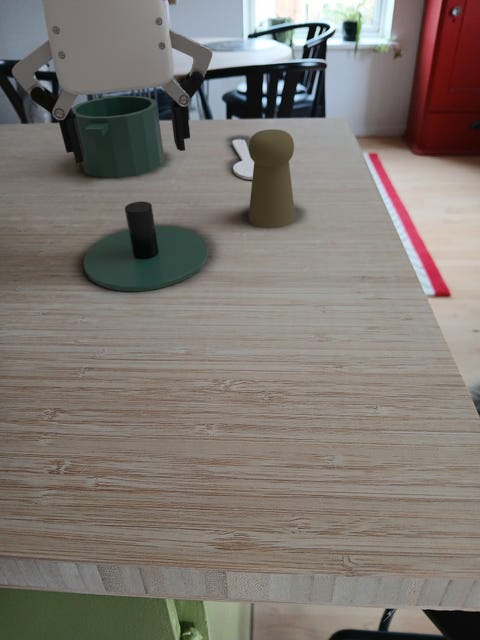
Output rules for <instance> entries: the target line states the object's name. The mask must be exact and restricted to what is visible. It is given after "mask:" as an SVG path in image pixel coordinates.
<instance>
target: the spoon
mask: <svg viewBox="0 0 480 640" xmlns="http://www.w3.org/2000/svg"><path fill="white" fill-rule="evenodd" d="M231 145H232V147H233V149H234V151H235V152H236V154H237V155H238V157H239V159H240V161H238V162H236V163H235V164H234V165H233V167H232V171H233V173H234V175H236V176H237V177H239V178H240V179H244V180H249V181H252V179H253V169H254V161H253V160H252V159H251V157H250V154H249V146H248V144H247V141H246V140H244V139H234V140H232V141H231Z"/></svg>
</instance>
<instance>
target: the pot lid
mask: <svg viewBox="0 0 480 640" xmlns="http://www.w3.org/2000/svg"><path fill="white" fill-rule="evenodd" d="M124 213H125V218H126V224H127V229H126V230H125V229H124V230H122V231H119V232H115V233H113V234H111V235H109V236H106V237H104V238H103V239H101V240H99V241H98V242H96V243H95V244H94V245H93V246H92V247H90V248H89V250H88V251H87V252H86V254H85V256H84V259H83V268H84V272H85V274H86V276H87V278H89V280H91V281H92V282H93V283H95V284H96V285H98V286H100V287H103V288H106V289H109V290H113V291H118V292H119V291H121V292H145V291H146V292H147V291H153V290H158V289H163V288H168V287H170V286H173V285H176V284H179V283H181V282H183V281H185V280H187V279H189V278H191V277H192V276H194V275H195V274H196V273H198V272H199V271H200V270H202V268H203V267H204V265H205V264H206V262H207V260H208V256H209V250H208V245H207V243H206V241H205V239H204V238H203V237H202V236H200V235H199V234H198V233H196V232H194V231H192V230H190V229H186V228H182V227H178V226H170V225H156V224H155V218H154V212H153V205H152V204H151V202H148V201H134V202H130V203H129V204H127V205H126V206H124Z"/></svg>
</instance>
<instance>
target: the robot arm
mask: <svg viewBox="0 0 480 640" xmlns="http://www.w3.org/2000/svg"><path fill="white" fill-rule="evenodd" d="M41 1H42V7H43V14H44V20H45V27H46V32H47V38H48V39H47V40H46V41H45V42H43V43H42V44H41V45H39V46H38V47H37V48H35V49H34V50H33V51H32V52H31V53H29V54H27V55H26V56H25V57H23V58H22V59H21V60H20V61H19V62H17V63H16V64H15V65H14V66H13V67H12V69H11V74H12V76H13V77H14V79H15V80H16V81H17V82H18V83H19V85H20V86H21V87H22V89H23V90H24V91H25V92H27V94H28V95H29V96H30V99H31V101H33V102H34V103H35V104H37V105H38V106H40V107H41V108H43V109H44V110H46V111H47V112H48V113H50V114H51V115H52V116H53V118H54V119H55V120H57V121H58V123H59V128H60V133H61V137H62V141H63V144H64V147H65V151H66V153H68V154H69V153H73V157H74V161H75V165H76V164H82V161H84V154H85V153H84V148H83V143H82V139H81V135H80V130H79V126H78V122H77V117H76V114H75V113H73V111H72V109H71V108H73V105H74V103H75V101H76V100H77V97H78V96H87V95H97V94H107V93H108V94H109V93H118V92H129V91H138V90H145V89H146V90H147V89H154V88H160V87H161V89H162V90H164V91H165V92H166V94H168V95H169V97H170V98H171V101H170V102H169V111H170V118H171V125H172V133H173V141H174V145H175V147H176V148H177V151H179V152H184V151H186V146H185V145H186V144H185V140H187V139H191V131H190V121H189V113H188V112H189V111H188V106H189V105H190V103H191V100H192V98H193V97H194V96H195V95H196V93H197V92H198V90H199V89H200V88H201V87H202V85H203V84H204V80H205V76H206V74H207V72H208V69H209V67H210V63H211V62H212V58H213V52H212V50H211V48H209V47H208V46H206V45H204V44H201V43H200V42H197V41H195V40H193V39H191V38H190V37H187V36H186V35H183V34H181V33H178V32H177V31H174V30H172V29H170V28H169V21H168V17H167V11H166V5H165V0H41ZM173 49H174V50H176V51H178V52H180V53H181V54H185V55H186V56H189V57H191V58H192V65H191V68H190V71H189V72H188V73H187V74H186V76H185V77H184V79H183V80H182V81H181V83H179V81H178V80H176V78H175V77H174V75H175V65H174V54H173ZM51 61H52V62H53V66H54V70H55V74H56V75H55V76H56V78H57V81H58V84H59V86H60V88H61V89H60V92H59V94H58V95H56V94H55V93H53V92H51V91H50V90H49V89H47V88H46V87H45V86H44V85H42V84H41V83H40V81H39V79H38V78H37V76H36V74H35V73H36V72H37V71H39V70H40V69H41V68H43V66H45V65H46V64H48V63H49V62H51Z"/></svg>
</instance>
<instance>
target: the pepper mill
mask: <svg viewBox="0 0 480 640" xmlns="http://www.w3.org/2000/svg"><path fill="white" fill-rule="evenodd" d="M248 150H249V154H250V157H251V159H252V160H253V161H254V169H253V179H252V180H251V188H250V189H251V190H250V198H249V199H250V200H249V210H248V221H249V223H250V224H252V225H254V226H256V227H259V228H265V229H277V228H283V227H286V226H289V225H291V224H292V223H294V221H295V220H296V211H295V205H294V204H295V203H294V195H293V194H294V193H293V184H292V177H291V167H290V160H291V159H292V158H293V155H294V152H295V143H294V139H293V137H292V135H291V134H290V133H289V132H288V131H285V130H282V129H273V128H272V129H263V130H259V131H257V132H255V133H254V134H252V135H251V137H250V138H249V144H248Z"/></svg>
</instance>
